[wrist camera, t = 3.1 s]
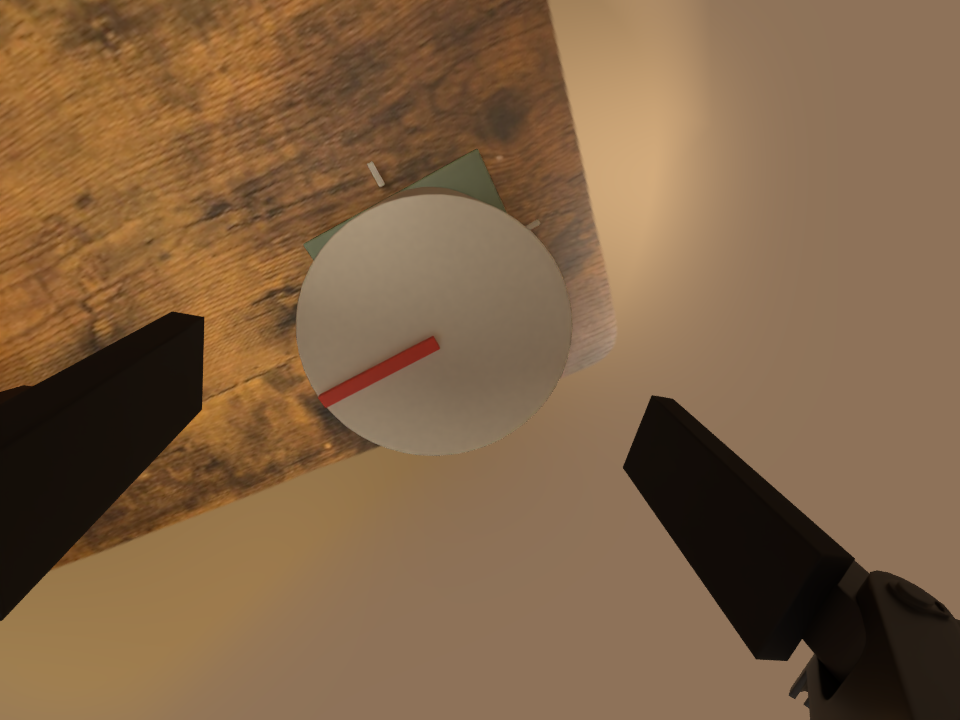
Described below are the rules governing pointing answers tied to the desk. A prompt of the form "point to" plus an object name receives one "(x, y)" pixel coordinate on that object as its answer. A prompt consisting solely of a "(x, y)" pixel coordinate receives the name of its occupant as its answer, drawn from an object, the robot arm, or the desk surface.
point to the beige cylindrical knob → (433, 323)
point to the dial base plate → (457, 176)
